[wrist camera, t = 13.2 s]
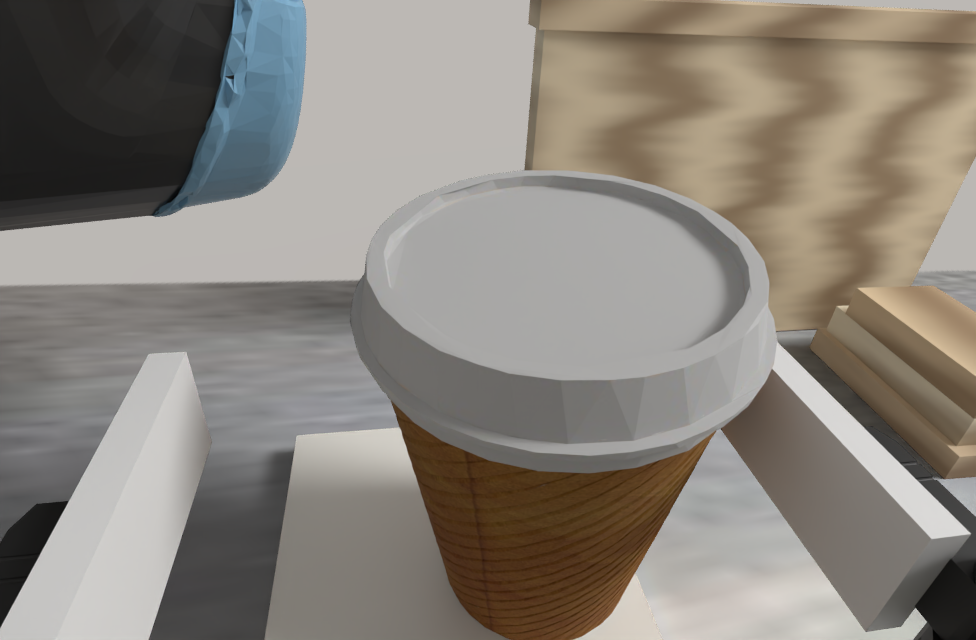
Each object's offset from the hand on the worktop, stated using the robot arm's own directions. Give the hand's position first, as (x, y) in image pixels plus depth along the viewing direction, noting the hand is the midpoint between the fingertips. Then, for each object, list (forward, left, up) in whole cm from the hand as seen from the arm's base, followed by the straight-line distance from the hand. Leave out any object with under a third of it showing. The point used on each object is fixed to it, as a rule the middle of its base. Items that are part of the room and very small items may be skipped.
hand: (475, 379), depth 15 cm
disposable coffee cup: (+2, +2, -9) cm, 9 cm away
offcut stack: (+17, +19, -10) cm, 28 cm away
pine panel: (+7, +22, -10) cm, 25 cm away
